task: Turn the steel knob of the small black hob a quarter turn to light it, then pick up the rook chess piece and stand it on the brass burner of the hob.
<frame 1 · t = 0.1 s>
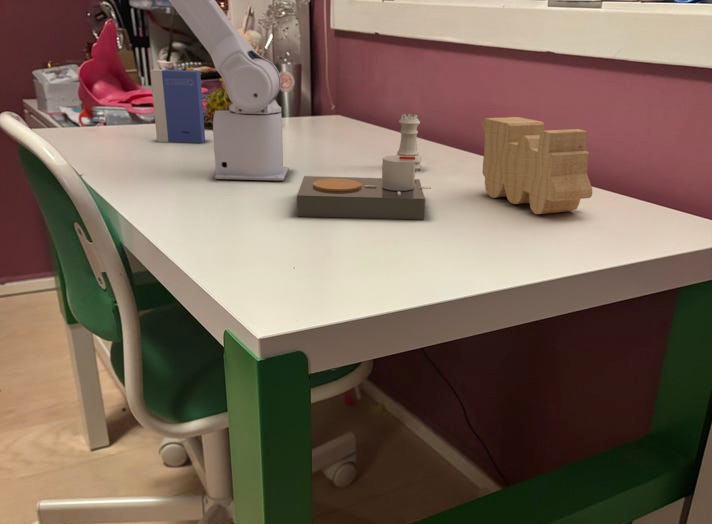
toy train: (529, 205, 97), on the table
yellow-green lumpy cluster: (235, 126, 150), on the table
hob: (361, 206, 92), on the table
figurine: (244, 151, 125), on the table
hob knob: (398, 171, 91), point 4 cm above the table, hinge at 0.0°
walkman: (181, 142, 130), on the table
burner: (337, 186, 91), resting on hob
rook chess piece: (407, 170, 115), on the table
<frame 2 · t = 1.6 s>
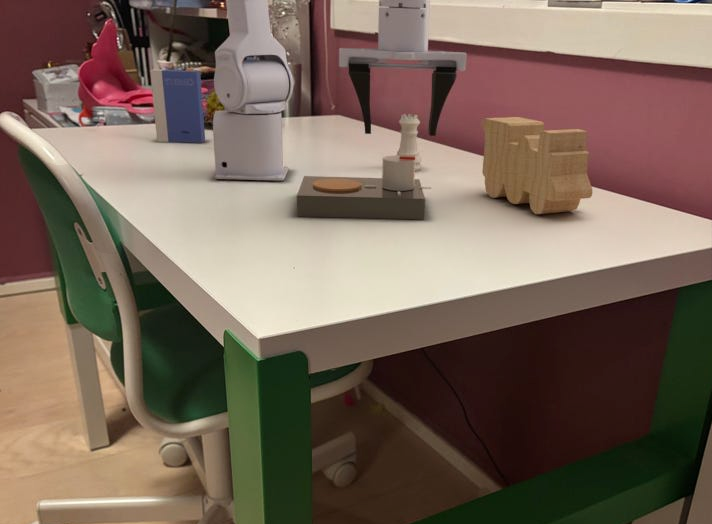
hand: (400, 133, 89), 9 cm above the table, tool pointing down, fingers open, 7 cm apart
nothing on the table moved.
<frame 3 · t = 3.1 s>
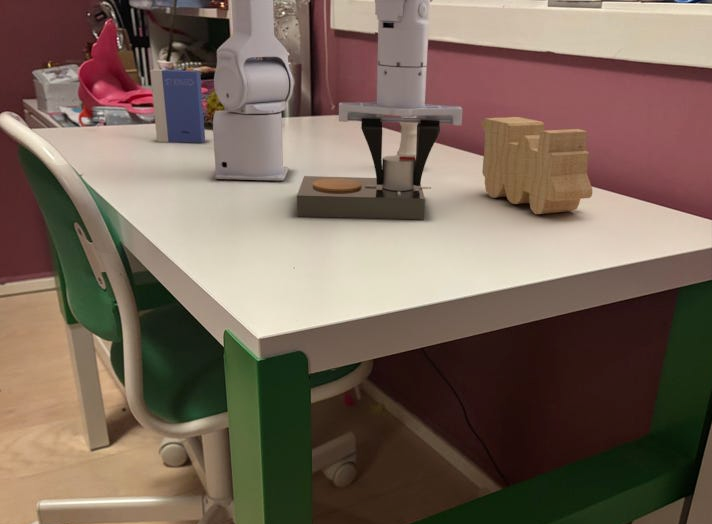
hand: (397, 183, 91), 3 cm above the table, tool pointing down, fingers closed on hob knob, 4 cm apart
hob knob: (398, 171, 91), point 4 cm above the table, hinge at -0.2°, touching gripper
everything else where it was.
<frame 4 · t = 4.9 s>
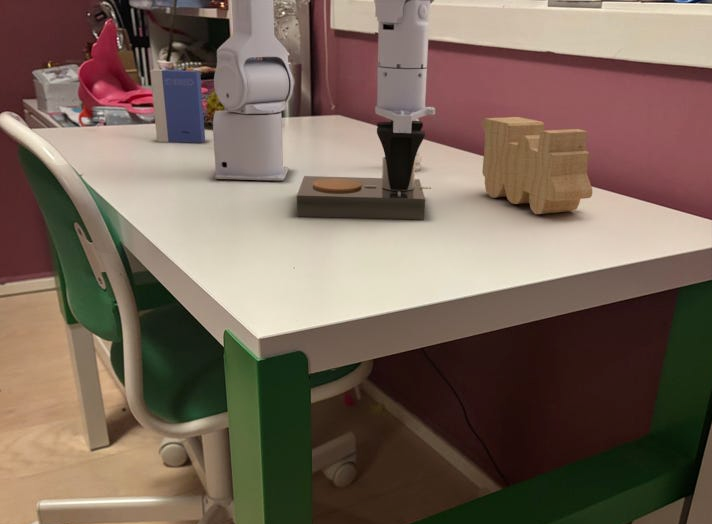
hand: (398, 185, 91), 3 cm above the table, tool pointing down, fingers closed on hob knob, 4 cm apart
hob knob: (398, 171, 91), point 4 cm above the table, hinge at 89.3°, touching gripper
everything else where it was.
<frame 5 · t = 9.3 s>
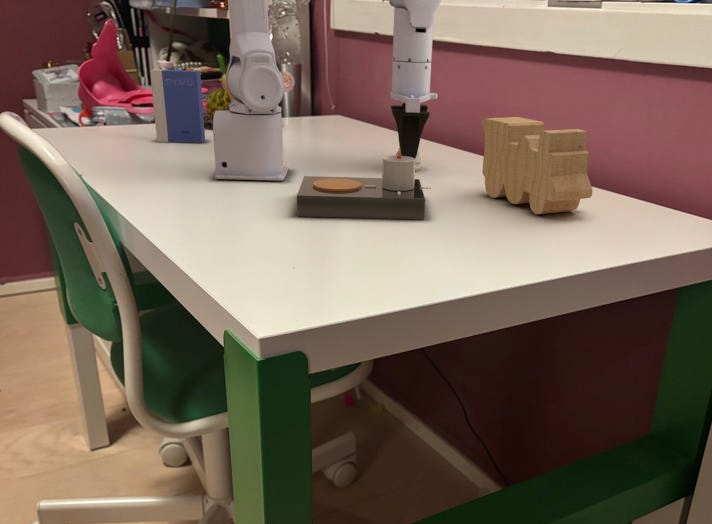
hand: (408, 155, 114), 2 cm above the table, tool pointing down, fingers closed on rook chess piece, 3 cm apart
hob knob: (398, 171, 91), point 4 cm above the table, hinge at 89.9°
rook chess piece: (407, 170, 115), on the table, touching gripper
everything else where it was.
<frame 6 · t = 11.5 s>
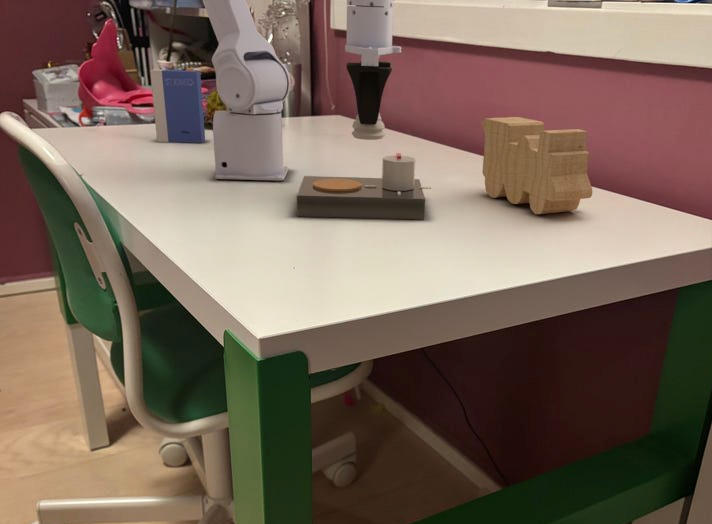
hand: (368, 121, 97), 9 cm above the table, tool pointing down, fingers closed on rook chess piece, 3 cm apart
rook chess piece: (368, 138, 98), point 7 cm above the table, touching gripper
everything else where it was.
when the fingers open (5 cm above the table, at t = 13.8 s): rook chess piece stays where it is, resting on burner.
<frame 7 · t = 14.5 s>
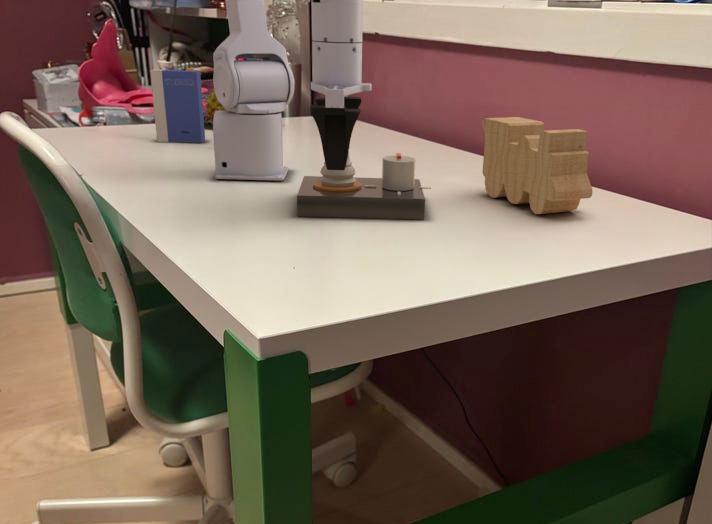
hand: (337, 163, 90), 5 cm above the table, tool pointing down, fingers open, 7 cm apart
rook chess piece: (338, 185, 91), point 3 cm above the table, touching burner
everything else where it was.
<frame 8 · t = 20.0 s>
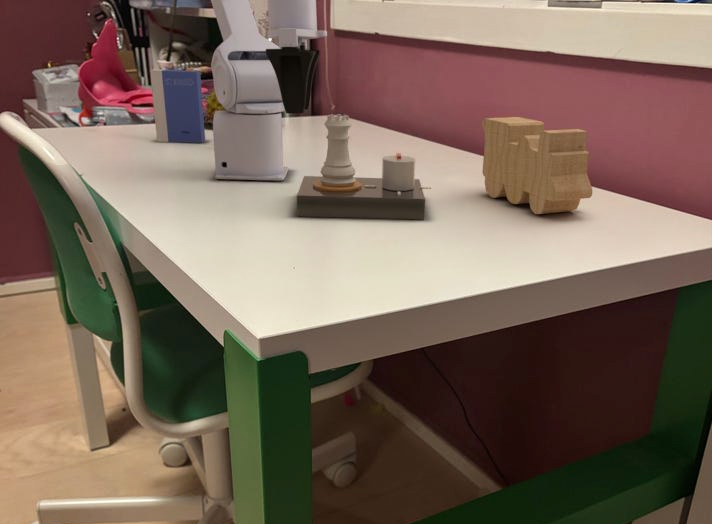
hand: (297, 111, 92), 10 cm above the table, tool pointing down, fingers open, 7 cm apart
nothing on the table moved.
at the end: hob knob at +90° (first picture: +0°); rook chess piece 0.1 cm off-centre on the burner, point 0.1 cm above the burner's base; rook chess piece tilted 0° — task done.
